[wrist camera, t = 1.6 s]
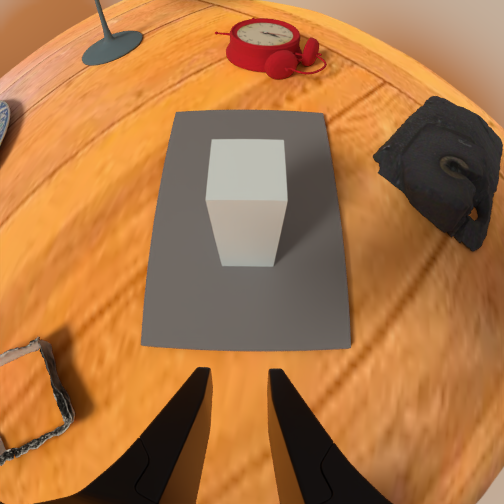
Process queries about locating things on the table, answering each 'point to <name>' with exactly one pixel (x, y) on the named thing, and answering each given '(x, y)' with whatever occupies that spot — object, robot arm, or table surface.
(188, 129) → the rubber mat
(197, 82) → the table surface
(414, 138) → the dark slate chunk
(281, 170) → the painted block
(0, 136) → the ceramic plate
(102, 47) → the cocktail glass
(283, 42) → the alarm clock
